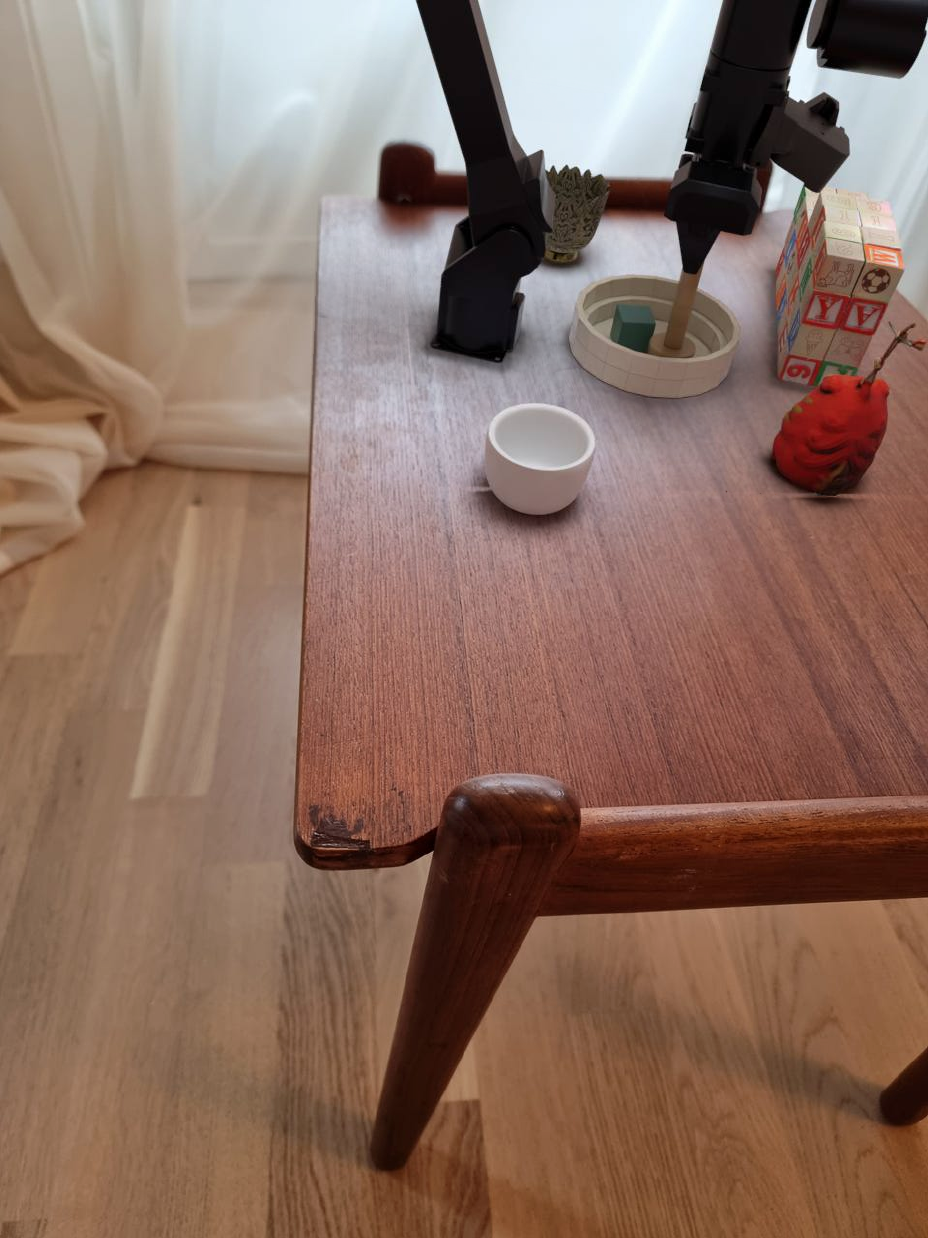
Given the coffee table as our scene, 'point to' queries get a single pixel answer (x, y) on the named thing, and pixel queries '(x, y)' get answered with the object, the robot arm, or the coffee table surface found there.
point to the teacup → (538, 457)
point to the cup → (574, 212)
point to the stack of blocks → (834, 282)
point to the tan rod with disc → (678, 322)
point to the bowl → (644, 372)
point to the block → (633, 327)
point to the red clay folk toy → (837, 428)
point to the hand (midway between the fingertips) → (691, 267)
